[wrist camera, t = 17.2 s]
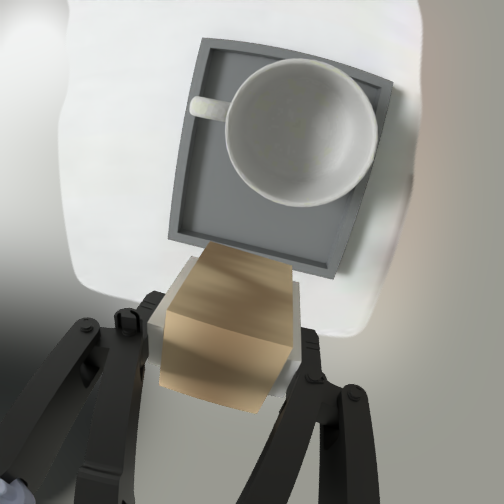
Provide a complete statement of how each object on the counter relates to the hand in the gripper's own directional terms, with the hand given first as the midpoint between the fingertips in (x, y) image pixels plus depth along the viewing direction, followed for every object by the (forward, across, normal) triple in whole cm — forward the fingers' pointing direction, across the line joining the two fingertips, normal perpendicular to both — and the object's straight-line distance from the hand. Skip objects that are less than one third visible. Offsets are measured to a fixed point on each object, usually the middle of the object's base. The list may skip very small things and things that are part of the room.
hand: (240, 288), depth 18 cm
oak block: (0, 0, 0) cm, 0 cm away
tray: (+13, 0, +7) cm, 15 cm away
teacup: (+13, 0, +10) cm, 16 cm away
